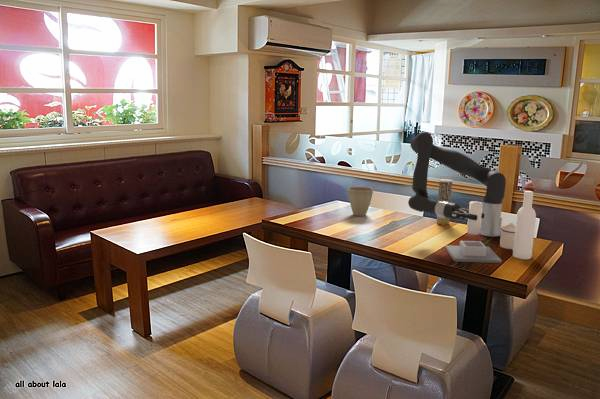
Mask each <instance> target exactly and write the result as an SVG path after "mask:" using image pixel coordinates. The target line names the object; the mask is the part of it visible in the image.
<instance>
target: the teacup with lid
mask: <svg viewBox="0 0 600 399" xmlns="http://www.w3.org/2000/svg"><path fill="white" fill-rule="evenodd" d="M515 228H516V225H515V224H514V222H509V224H506V225H505V226H501V234H500V238H499V247H500V248H502V249H506V250H513V248H514V238H515Z"/></svg>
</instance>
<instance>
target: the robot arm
mask: <svg viewBox="0 0 600 399" xmlns="http://www.w3.org/2000/svg"><path fill="white" fill-rule="evenodd" d="M409 145H410V148H411V149H412V151H413V152H415V153H416V154H417V157H416V158H417V160H416V163H415V167H414V169H413V175H412V188H411V189H412V191H413V192H414V194H415V195H413V196H411V197H409V199H408V201H407V202H408V203H407V204H408V206H409V208H410V209H411V210H414V211H417V212H420V213H423V212H426V213H428V214H430V215H434V216H435V215H436V216H437V215H438V216H441V217H445V218H449V220H457V219H459V220H468V219H471V220H477V215H473V214H469V207H467V208H465V207H462V208H461V206H460V205H459V204H458V203H455V202H452V201H451V202H446V201H439V200H438V199H432V198H431V199H430V198H429V194H428V190H427V188H428V173H429V165H430V159H432V160H433V161H436V162H438V163H440V164H441V165H443V166H445V167H447V168H449V169H450V170H453V171H454V172H457V173H458V174H461V175H464V176H468V177H471V178H473V179H475V180H476V181H478V182H480V183H481V184H483V185H484V186H485V187H486V191H485V192H486V193H485V195H484V196H483V199H482V203H483V204H482V216H481V227H480V234H479V235H482V236H485V237H501V228H502V221H503V218H502V207H503V199H504V197H505V193H506V187H507V186H506V185H507V180H506V177H505V175H504V174H503V173H502V172H500V171H496V170H493V169H490V168H489V167H485V166H483V165H481V164H479V163H478V162H477V161H475V160H474V159H472V158H470V157H469V156H467V155H466V154H463V153H461V152H459V151H457V150H456V149H455V150H454V149H449V148H446V147H445V148H444V147H439V146H437V145H435V144H434V138H433V136H432V135H431V134H430V133H429V132H427V131H423V132H420V133H418V134H416V136H414V137H413V138H412V139H411V141H410V144H409Z"/></svg>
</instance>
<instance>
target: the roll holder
mask: <svg viewBox="0 0 600 399" xmlns="http://www.w3.org/2000/svg"><path fill="white" fill-rule="evenodd" d="M444 246H445V247H444V248H445V249H446V251H447V253H448V255H450V257H451V259H452V261H454V262H456V263H457V262H460V263H461V262H462V263H485V264H486V263H491V264H502V262H503V260H502V259H501V258H500V257H499V256H498V255H497V254H496V253H495V252H494V251H493V250H492V248H491V247H490V246H486V245H485V244H484V243H483V242H482V241H480V240H479V241H477V240H476V241H475V240H460V241H459V245H446V244H445V245H444Z"/></svg>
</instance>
